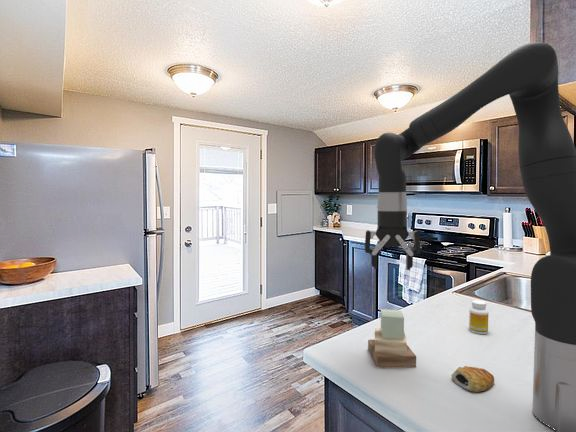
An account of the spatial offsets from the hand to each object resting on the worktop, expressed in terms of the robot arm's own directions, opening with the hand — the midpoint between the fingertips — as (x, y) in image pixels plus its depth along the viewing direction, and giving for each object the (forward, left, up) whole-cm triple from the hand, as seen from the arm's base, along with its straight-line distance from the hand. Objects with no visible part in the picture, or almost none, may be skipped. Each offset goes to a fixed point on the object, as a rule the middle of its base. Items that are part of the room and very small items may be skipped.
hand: (391, 268), depth 88 cm
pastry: (-9, -18, -25) cm, 32 cm away
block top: (0, 0, -22) cm, 22 cm away
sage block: (0, 0, -18) cm, 18 cm away
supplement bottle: (+23, -30, -25) cm, 45 cm away
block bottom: (0, 0, -25) cm, 25 cm away
